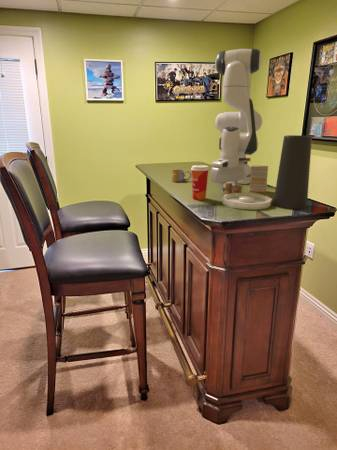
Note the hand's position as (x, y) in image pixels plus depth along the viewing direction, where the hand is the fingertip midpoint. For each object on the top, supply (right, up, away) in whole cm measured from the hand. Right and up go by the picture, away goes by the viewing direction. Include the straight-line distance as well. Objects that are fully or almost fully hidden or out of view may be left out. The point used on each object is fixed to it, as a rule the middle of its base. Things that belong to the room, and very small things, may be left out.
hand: (227, 190), depth 165 cm
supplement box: (+17, 0, +7) cm, 18 cm away
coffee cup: (-15, -5, -9) cm, 18 cm away
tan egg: (0, -2, +1) cm, 2 cm away
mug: (-21, +9, +34) cm, 41 cm away
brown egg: (+4, -3, -4) cm, 6 cm away
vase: (+23, -9, -21) cm, 32 cm away
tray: (+5, -8, -18) cm, 20 cm away
